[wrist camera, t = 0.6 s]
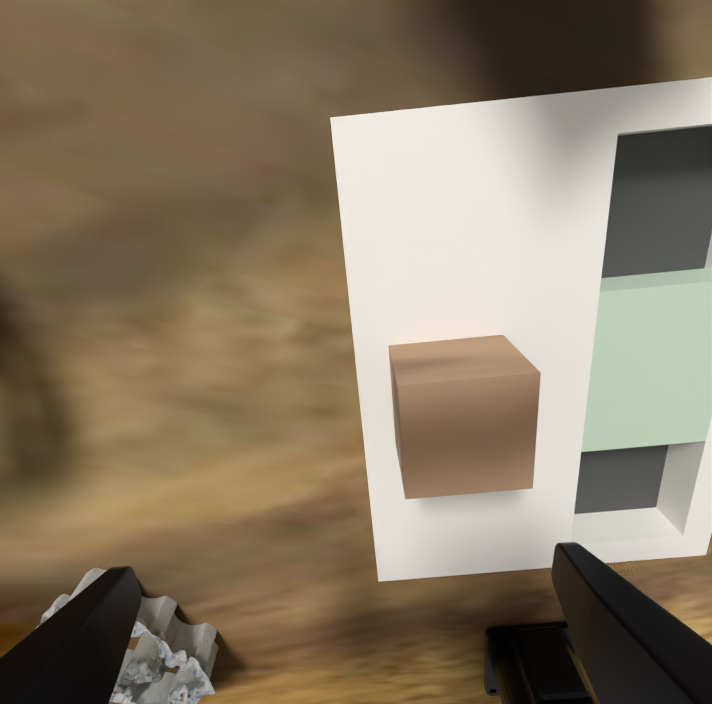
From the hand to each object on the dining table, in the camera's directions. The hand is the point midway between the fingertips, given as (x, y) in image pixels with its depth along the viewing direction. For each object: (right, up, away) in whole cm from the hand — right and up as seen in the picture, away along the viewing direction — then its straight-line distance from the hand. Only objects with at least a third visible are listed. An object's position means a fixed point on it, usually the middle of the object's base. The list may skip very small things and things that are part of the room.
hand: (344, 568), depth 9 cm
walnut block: (+4, +3, +11) cm, 12 cm away
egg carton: (-14, -13, +20) cm, 28 cm away
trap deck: (+9, +4, +13) cm, 16 cm away
